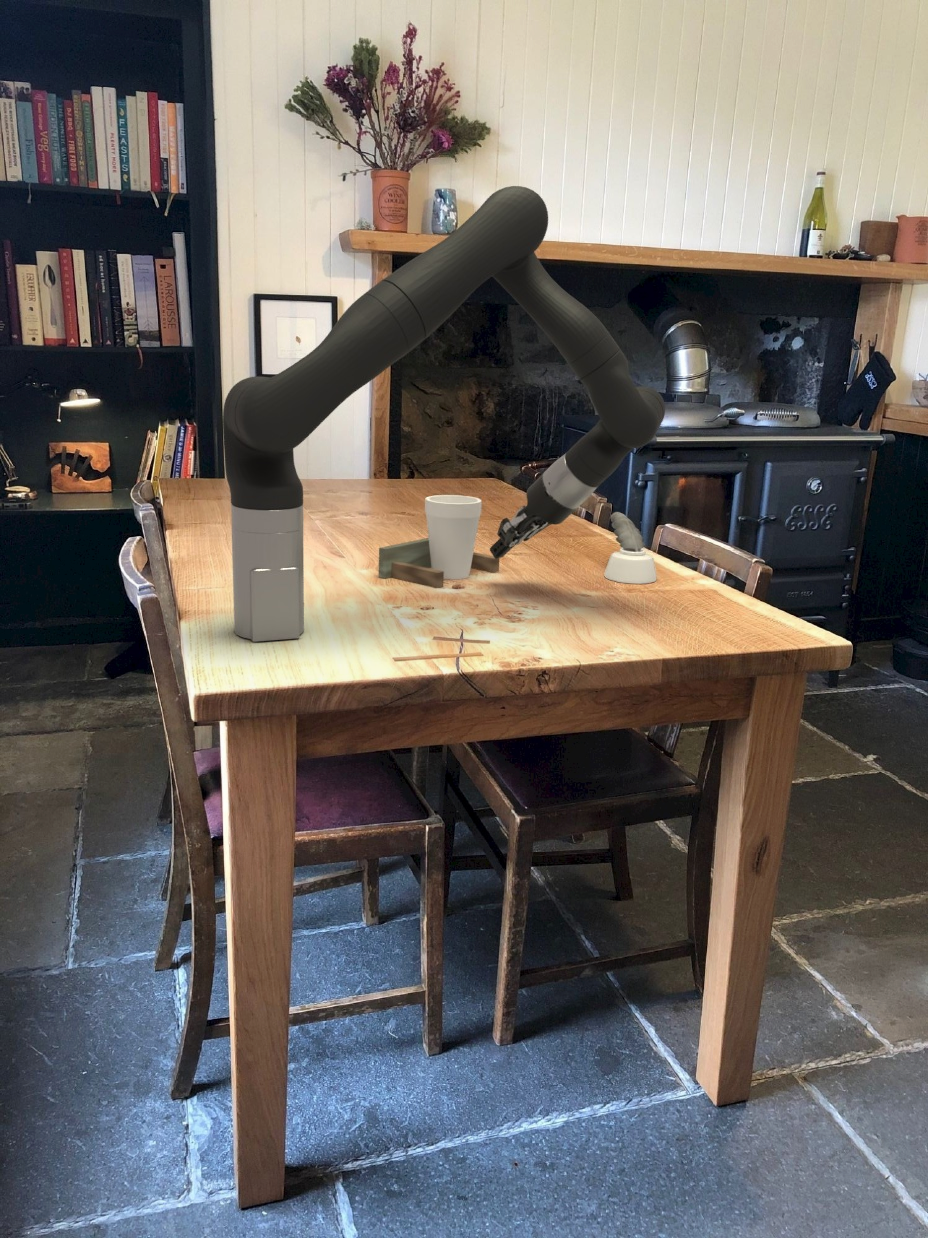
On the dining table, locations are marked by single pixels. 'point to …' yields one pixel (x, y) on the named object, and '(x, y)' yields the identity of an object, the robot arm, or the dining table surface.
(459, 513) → the foam cup
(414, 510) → the dining table surface
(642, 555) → the inkwell
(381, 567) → the dock
